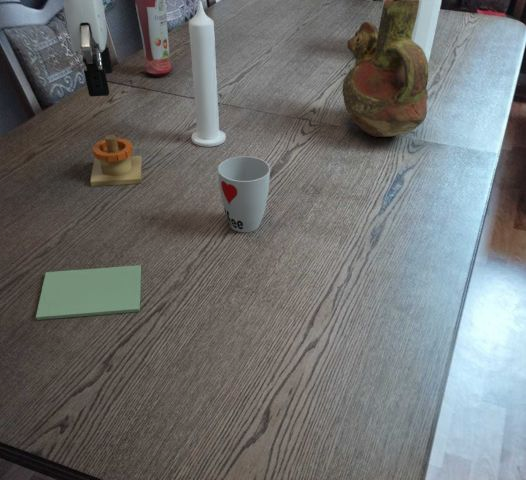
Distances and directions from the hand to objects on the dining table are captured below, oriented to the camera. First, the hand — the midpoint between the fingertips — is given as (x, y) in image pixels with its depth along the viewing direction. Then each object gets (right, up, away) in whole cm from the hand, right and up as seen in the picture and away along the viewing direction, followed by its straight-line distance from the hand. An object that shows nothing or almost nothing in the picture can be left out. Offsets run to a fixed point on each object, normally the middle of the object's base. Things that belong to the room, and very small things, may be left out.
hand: (101, 83), depth 92 cm
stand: (0, -11, +12) cm, 16 cm away
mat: (+2, -36, -13) cm, 39 cm away
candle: (+16, -1, +22) cm, 27 cm away
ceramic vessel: (+51, +3, +26) cm, 58 cm away
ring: (0, -9, +9) cm, 12 cm away
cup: (+24, -24, 0) cm, 34 cm away
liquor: (+1, +25, +47) cm, 53 cm away
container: (+65, +34, +56) cm, 92 cm away
